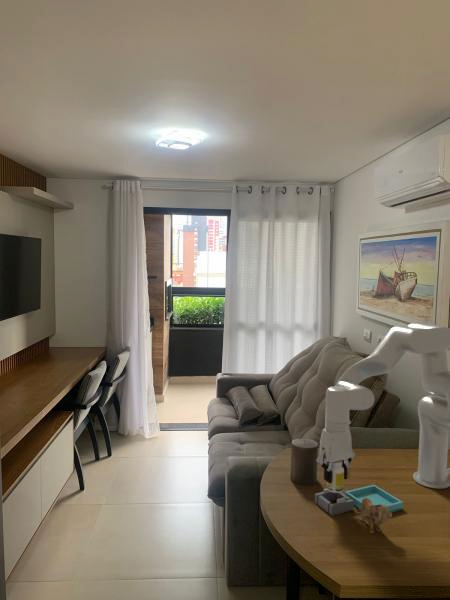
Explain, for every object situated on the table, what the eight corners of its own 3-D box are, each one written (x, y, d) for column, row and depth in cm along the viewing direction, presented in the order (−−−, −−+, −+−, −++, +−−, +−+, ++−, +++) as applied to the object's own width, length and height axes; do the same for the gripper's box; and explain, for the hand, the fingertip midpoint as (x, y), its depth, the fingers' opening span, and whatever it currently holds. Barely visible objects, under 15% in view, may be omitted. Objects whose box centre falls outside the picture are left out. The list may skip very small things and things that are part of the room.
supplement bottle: (345, 487, 147) (345, 458, 147) (342, 495, 142) (342, 465, 142) (328, 484, 150) (329, 455, 149) (325, 491, 145) (325, 462, 144)
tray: (373, 491, 157) (374, 484, 157) (402, 509, 145) (403, 502, 145) (344, 498, 151) (344, 491, 151) (372, 517, 139) (372, 510, 139)
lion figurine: (393, 537, 129) (395, 507, 129) (378, 540, 128) (379, 510, 127) (363, 511, 143) (364, 484, 143) (349, 513, 142) (350, 486, 141)
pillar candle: (311, 487, 158) (313, 446, 158) (286, 480, 163) (287, 440, 163) (320, 477, 167) (321, 438, 166) (295, 471, 172) (297, 432, 171)
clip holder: (335, 497, 152) (336, 485, 152) (353, 509, 144) (354, 497, 144) (314, 502, 148) (315, 490, 148) (331, 515, 140) (332, 502, 140)
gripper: (349, 418, 152) (348, 470, 153) (308, 425, 144) (306, 479, 146) (365, 425, 145) (363, 479, 146) (322, 433, 138) (321, 489, 139)
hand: (335, 479), depth 146 cm, fingers closed on supplement bottle, 5 cm apart
